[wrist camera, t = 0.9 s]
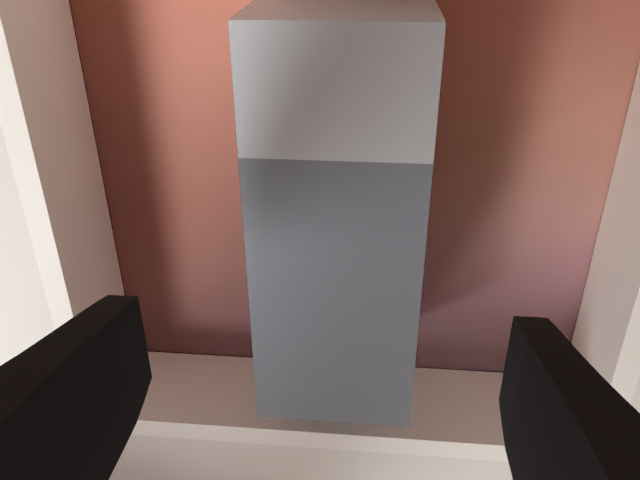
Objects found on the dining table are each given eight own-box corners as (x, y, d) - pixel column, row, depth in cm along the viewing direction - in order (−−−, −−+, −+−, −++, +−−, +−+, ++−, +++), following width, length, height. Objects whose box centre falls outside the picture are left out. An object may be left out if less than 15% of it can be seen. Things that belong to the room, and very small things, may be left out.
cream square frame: (71, 407, 25) (28, 476, 22) (-102, -241, 15) (-226, -276, 12) (633, 445, 24) (670, 526, 20) (874, -266, 13) (1021, -317, 10)
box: (282, 315, 22) (257, 416, 18) (269, -12, 17) (228, 19, 13) (405, 321, 22) (409, 426, 17) (431, -10, 17) (446, 22, 12)
